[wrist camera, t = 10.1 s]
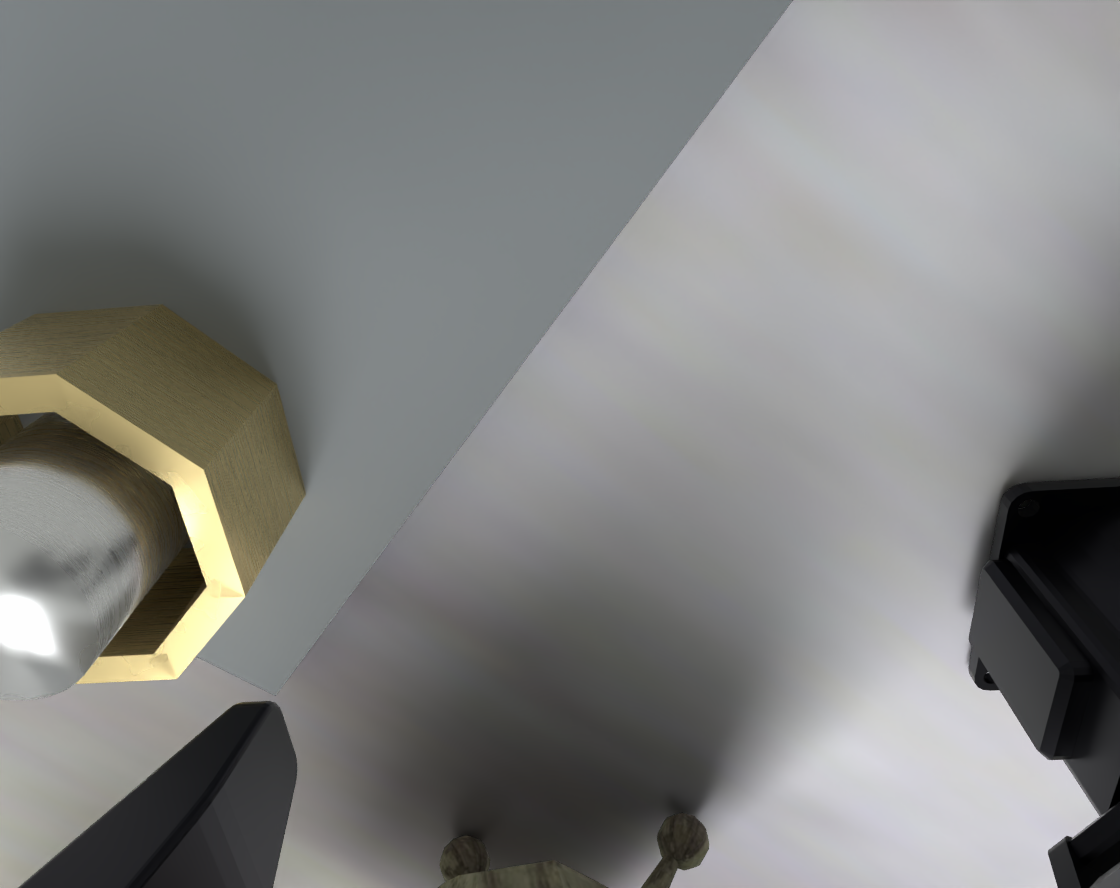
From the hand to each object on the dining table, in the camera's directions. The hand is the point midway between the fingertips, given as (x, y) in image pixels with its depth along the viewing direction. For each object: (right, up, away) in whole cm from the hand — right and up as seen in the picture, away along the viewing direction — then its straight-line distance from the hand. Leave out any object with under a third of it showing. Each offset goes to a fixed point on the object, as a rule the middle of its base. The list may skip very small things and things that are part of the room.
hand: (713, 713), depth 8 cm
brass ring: (-11, +3, +11) cm, 16 cm away
